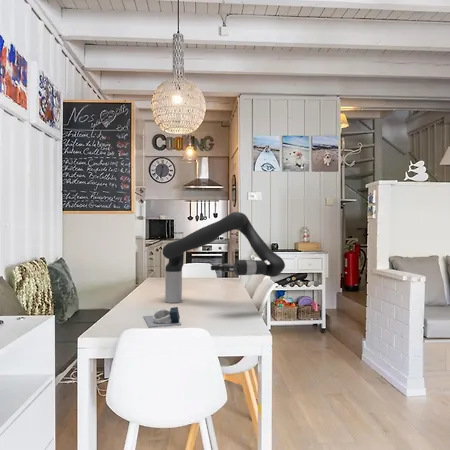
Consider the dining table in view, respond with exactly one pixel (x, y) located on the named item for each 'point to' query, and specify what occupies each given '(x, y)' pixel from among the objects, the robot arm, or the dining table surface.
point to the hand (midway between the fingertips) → (211, 267)
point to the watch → (162, 314)
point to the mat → (151, 323)
